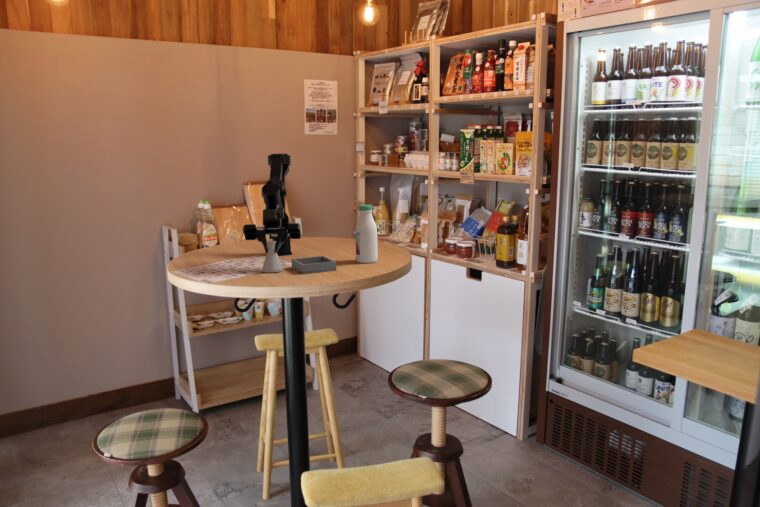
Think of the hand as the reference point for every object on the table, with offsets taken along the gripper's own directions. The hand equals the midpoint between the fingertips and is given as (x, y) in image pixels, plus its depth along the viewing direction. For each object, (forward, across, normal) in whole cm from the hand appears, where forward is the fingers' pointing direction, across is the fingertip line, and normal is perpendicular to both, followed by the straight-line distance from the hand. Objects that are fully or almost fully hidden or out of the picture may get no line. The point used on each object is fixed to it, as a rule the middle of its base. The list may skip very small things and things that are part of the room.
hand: (271, 252), depth 200 cm
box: (+3, +14, +7) cm, 15 cm away
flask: (+4, 0, +6) cm, 7 cm away
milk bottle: (-5, +32, +14) cm, 35 cm away
